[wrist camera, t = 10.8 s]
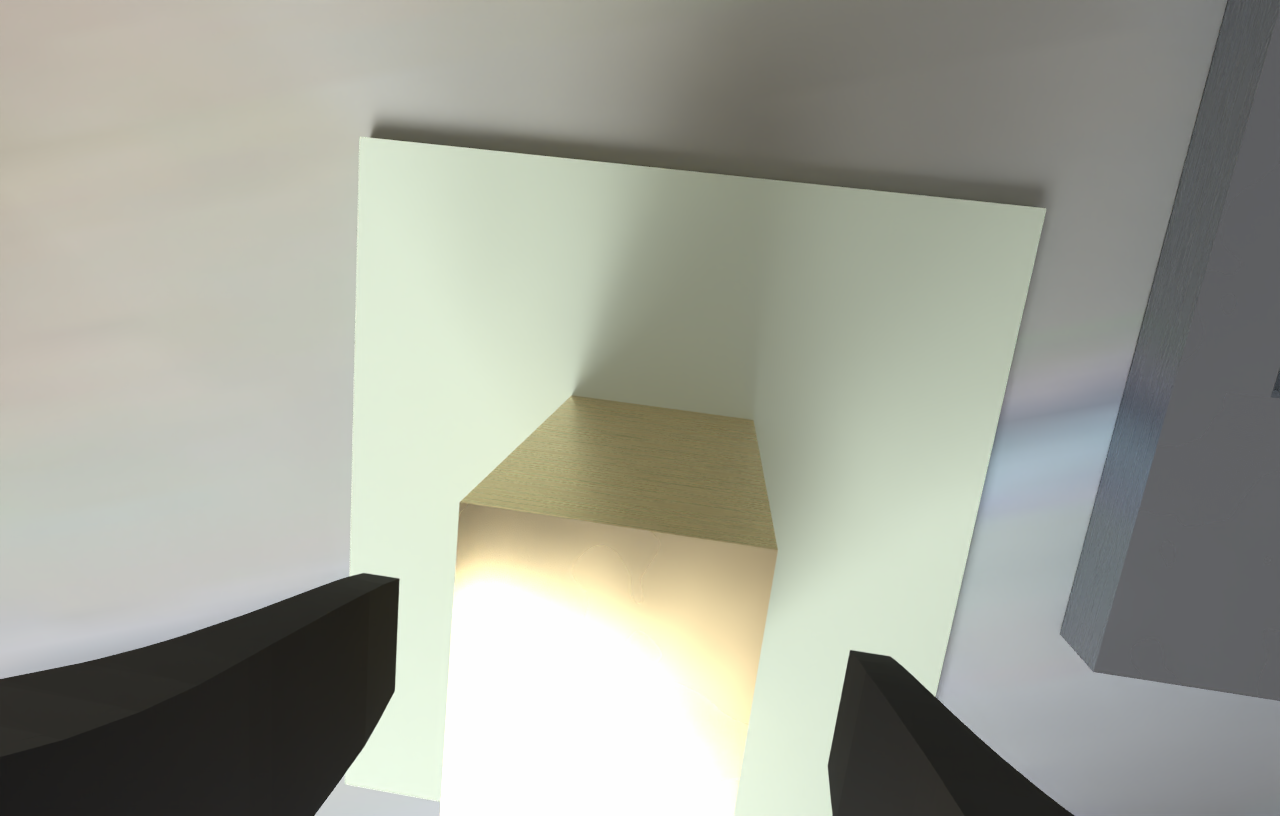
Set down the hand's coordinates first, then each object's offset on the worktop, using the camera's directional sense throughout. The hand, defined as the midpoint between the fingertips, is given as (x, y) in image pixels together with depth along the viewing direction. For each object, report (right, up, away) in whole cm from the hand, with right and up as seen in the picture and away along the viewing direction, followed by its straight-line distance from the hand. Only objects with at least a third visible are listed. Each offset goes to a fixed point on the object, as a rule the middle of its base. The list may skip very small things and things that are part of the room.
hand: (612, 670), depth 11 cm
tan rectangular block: (+1, +1, +5) cm, 5 cm away
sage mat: (+1, +1, +6) cm, 6 cm away
